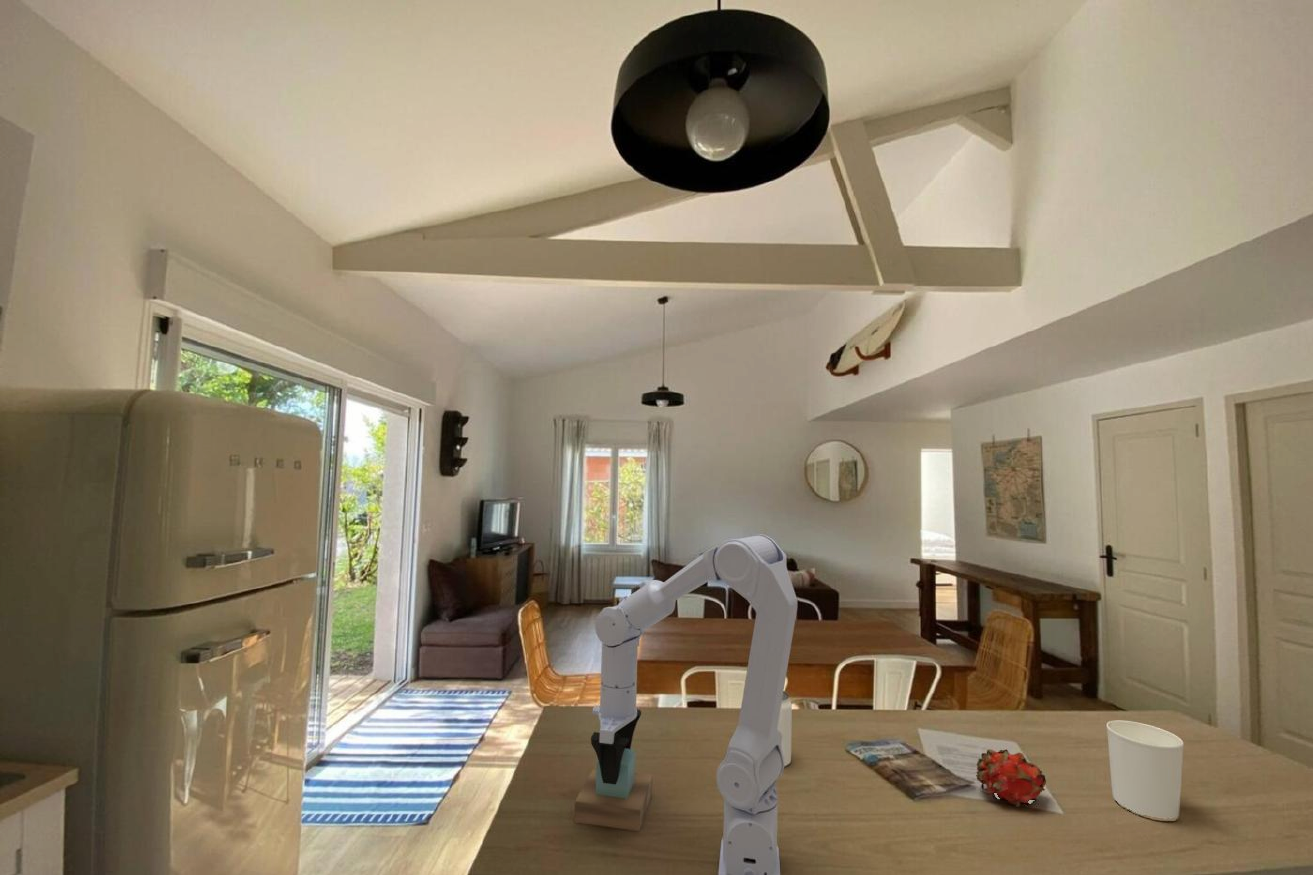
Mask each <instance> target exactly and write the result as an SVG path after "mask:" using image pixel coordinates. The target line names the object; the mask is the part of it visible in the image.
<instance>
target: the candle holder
mask: <svg viewBox="0 0 1313 875" xmlns="http://www.w3.org/2000/svg"><path fill="white" fill-rule="evenodd" d="M1106 732H1107V744H1108V756H1109V757H1108V758H1109V759H1108V760H1109V769H1110V780H1111V782H1110V783H1111V791H1112V798H1114V799H1115V800H1116V801H1117V802H1118V803H1119V804H1121V805H1122V806H1124V807H1126V808H1127V809H1130V810H1132V811H1133V812H1136V813H1138V814H1141V815H1147V816H1151V817H1157V818H1163V819H1167V818H1169V819H1172V818H1175V817H1178V816H1179V817H1180V809H1181V808H1180V806H1181V791H1182V775H1183V774H1182V772H1183V756H1184V755H1183V754H1184V746H1185V744H1184V741H1183V740H1182V739H1181V737H1179V736H1177V735H1176V734H1174V733H1173V732H1170V731H1167V730H1166V729H1162V728H1160V727H1158V726H1154V725H1151V724H1146V723H1142V722H1136V721H1130V720H1122V719H1121V720H1120V719H1119V720H1110V721H1107V722H1106ZM1114 799H1113V800H1114ZM1179 817H1178V818H1179Z"/></svg>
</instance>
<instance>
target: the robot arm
mask: <svg viewBox="0 0 1313 875" xmlns="http://www.w3.org/2000/svg"><path fill="white" fill-rule="evenodd" d="M710 581H711V582H715V583H717V582H720V581H723V582H724V583H725V584H726V585H727V586H728V587H730V588H731V589H732V590H734V591H735V592H736V593H738V594H739V595H741V597H743V598H744V599H745V600H747V602H748V604H750V605H751V607H752V609H754V611H755V620H754V626H753V634H752V638H751V644H750V650H749V656H748V664H747V668H746V673H745V674H746V675H745V680H744V686H743V692H742V700H741V705H740V711H739V716H738V717H739V718H738V722H737V723H738V724H737V726H736V729H735V730H734V733H733V734H732V737H731V739H730V741H729V743H728V745H727V751H726V755H725V757H724V758H723V760H722V761H721V762H720V764H719V765H718V767H717V770H716V775H715V776H716V777H715V778H716V785H717V789H718V791H719V793H720V794H721V797H722V798H723V831H722V832H723V835H722V839H721V842H720V852H719V862H718V863H719V864H718V875H781V866H780V864H781V863H780V852H779V851H780V850H779V846H778V808H779V807H778V805H779V804H778V803H779V802H778V801H779V800H778V799H779V798H778V797H779V795H778V789H777V780H778V779H779V778H780V777H781V776H782V774H783V772H784V770H785V767H784V756H783V753H782V748H781V741H782V734H781V733H780V732H779V731H778V730H777V727H778V721H779V715H780V709H781V703H782V697H783V691H785V683H786V678H787V673H788V668H789V660H790V659H789V658H790V654H791V649H792V648H791V647H792V641H793V635H794V630H795V623H796V617H797V612H798V598H797V595H796V592H795V589H794V586H793V582H792V579H791V577H790V573H789V570H788V567H787V554H786V553H785V552H784V551H783V549H782V548H781V547H780V546H779V545H778V544H777V542H776V541H775V539H773V538H772V537H770V536H768V535H766V534H762V533H756V534H755V533H754V534H752V535H750V536H746V537H741V538H730V539H727V540H725V541H723V542H722V543H721V544H720V545H717V546H715V547H712V548H710V549H708V550H707V551H705V552H704V553H702V554H700V555H699V556H698V557H696V558H695V559H694V560H692V561H691V562H690V563H688V564H687V565H686V566H684V567H682V569H680V570H679V571H677V572H676V573H675V574H673V575H672V576H670V577H669V578H668V579H667V580H665V581H664V582H663V581H661V580H658V579H653V580H650V579H646V580H643V581H642V582H641V583H639V584H638V586H639V589H637V590H636V591H635V592H633V593H632V594H630V595H629V596H628V595H624V596H622V597H620V598H619V599H618V601H619V603H618V604H617V605H615V606H607V607H604V608H602V610H601V611H600V612H598V614H597V615H596V619H595V623H594V629H595V633H596V636H597V638H598V639H599V641H600V642H601V660H600V662H601V667H600V698H599V705H598V704H597V705H595V706H593V708H592V715H595V716H598V719H599V724H600V727H599V728H600V729H599V732H598V731H594V732H593V733H592V735H591V737H590V744H591V746H592V748H593V750H594V751H595V755H596V756H597V757H596V758H597V760H599V765H600V770H601V776H602V780H603V783H607V784H616V783H617V781H618V777H619V773H620V766H621V760H622V756H623V753H624V750H625V748H626V749H632V748H631V747H632V742H633V737H634V733H635V729H636V726H637V724H638V722H639V719H640V718H641V715H642V710H640V709H638V708H637V690H638V689H637V685H638V657H639V656H638V653H639V652H638V651H639V650H638V649H639V648H638V647H640V639H641V637H642V636H643V634H644V633H645V631H646V630H647V629H649V628H650V627H652V626H655V624H657V623H659V622H660V621H662V620H664V619H665V618H667V617H668V616H670V615H672V614H673V612H674V611H675V609H676V601H677V600H679V599H680V598H682V597H684V596H687V595H688V594H689V593H691V592H693V591H694V590H696V589H698V588H699V587H701V586H703V585H705V584H706V583H708V582H710Z"/></svg>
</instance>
